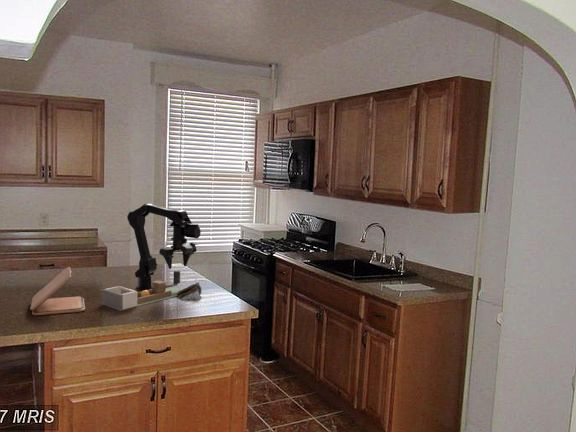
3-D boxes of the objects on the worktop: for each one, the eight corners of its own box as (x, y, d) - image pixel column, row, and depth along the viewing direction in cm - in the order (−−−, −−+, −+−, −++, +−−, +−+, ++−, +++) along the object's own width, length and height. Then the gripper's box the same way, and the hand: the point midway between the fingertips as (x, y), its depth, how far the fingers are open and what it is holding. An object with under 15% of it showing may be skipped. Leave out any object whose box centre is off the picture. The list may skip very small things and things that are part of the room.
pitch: (102, 304, 220) (102, 298, 219) (172, 288, 252) (172, 283, 251) (120, 310, 212) (120, 304, 212) (190, 293, 244) (190, 287, 244)
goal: (102, 303, 220) (102, 289, 219) (119, 299, 227) (119, 285, 226) (120, 310, 212) (120, 295, 211) (137, 305, 219) (137, 291, 218)
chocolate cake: (175, 302, 230) (194, 285, 229) (174, 293, 237) (193, 277, 236) (189, 313, 235) (208, 297, 234) (188, 305, 241) (206, 289, 240)
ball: (138, 298, 230) (138, 290, 229) (145, 296, 233) (145, 288, 233) (144, 300, 227) (144, 291, 227) (151, 298, 231) (151, 290, 230)
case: (32, 302, 218) (32, 267, 216) (84, 299, 227) (84, 264, 225) (29, 317, 200) (28, 278, 198) (85, 313, 208) (85, 275, 206)
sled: (152, 294, 236) (152, 274, 235) (175, 288, 248) (176, 270, 247) (158, 296, 234) (159, 276, 233) (182, 290, 245) (182, 271, 244)
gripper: (174, 240, 227) (173, 273, 229) (204, 236, 242) (203, 268, 244) (159, 236, 234) (158, 268, 236) (189, 233, 249) (188, 263, 251)
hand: (177, 267), depth 242 cm, fingers open, 9 cm apart
